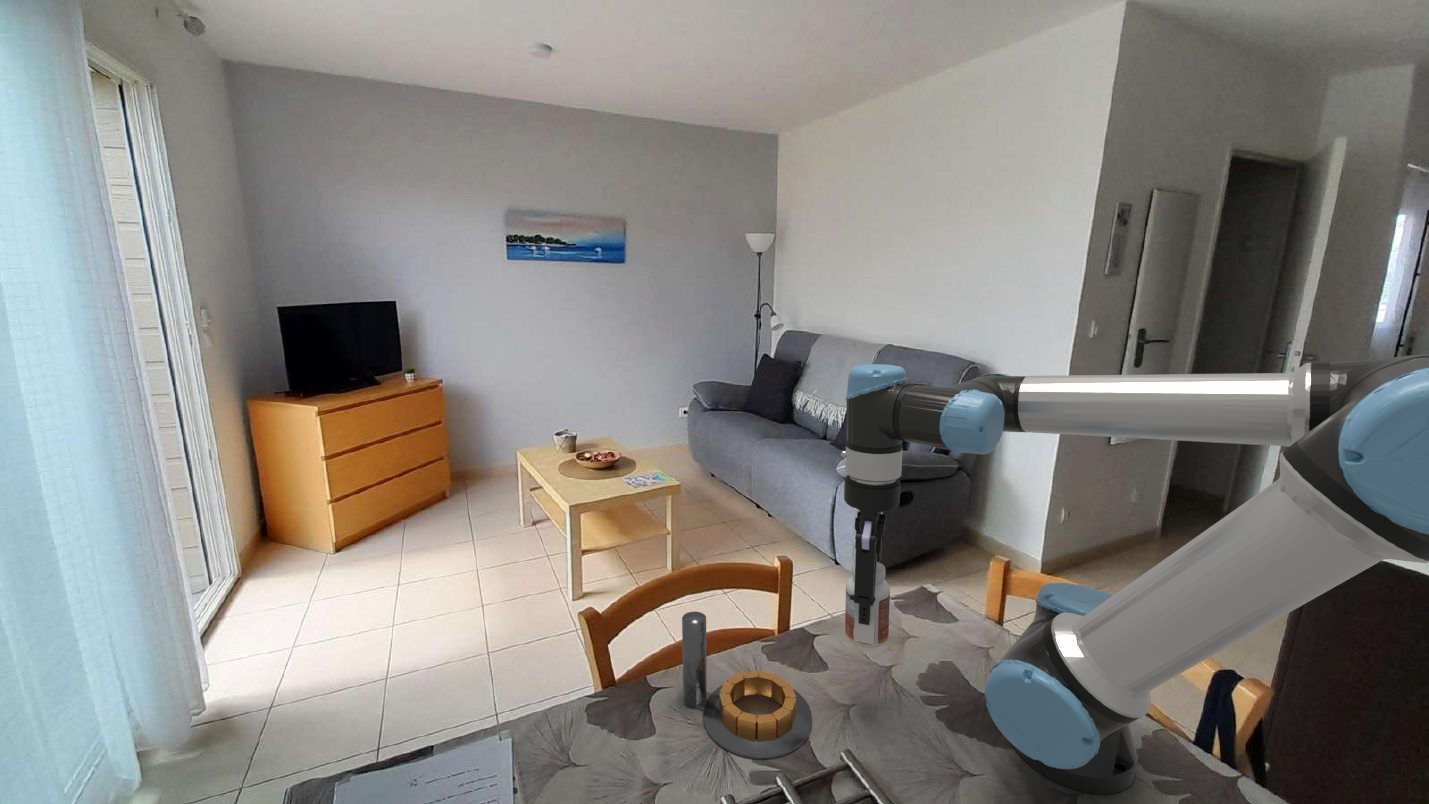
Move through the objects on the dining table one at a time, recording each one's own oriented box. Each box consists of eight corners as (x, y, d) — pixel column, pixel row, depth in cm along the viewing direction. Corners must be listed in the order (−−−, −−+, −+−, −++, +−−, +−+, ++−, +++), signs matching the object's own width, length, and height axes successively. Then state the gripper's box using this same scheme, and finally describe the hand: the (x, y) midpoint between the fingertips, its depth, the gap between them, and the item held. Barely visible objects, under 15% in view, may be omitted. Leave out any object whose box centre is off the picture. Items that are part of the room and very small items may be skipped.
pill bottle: (875, 622, 90) (878, 555, 88) (896, 646, 84) (899, 574, 82) (837, 628, 89) (839, 559, 87) (855, 652, 83) (858, 579, 81)
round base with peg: (821, 694, 92) (824, 613, 90) (798, 773, 78) (801, 679, 75) (703, 666, 99) (702, 590, 96) (662, 733, 85) (660, 646, 82)
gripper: (853, 455, 92) (849, 592, 96) (833, 496, 74) (829, 661, 79) (904, 459, 89) (897, 600, 94) (896, 503, 72) (888, 673, 76)
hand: (866, 627), depth 86 cm, fingers closed on pill bottle, 6 cm apart
